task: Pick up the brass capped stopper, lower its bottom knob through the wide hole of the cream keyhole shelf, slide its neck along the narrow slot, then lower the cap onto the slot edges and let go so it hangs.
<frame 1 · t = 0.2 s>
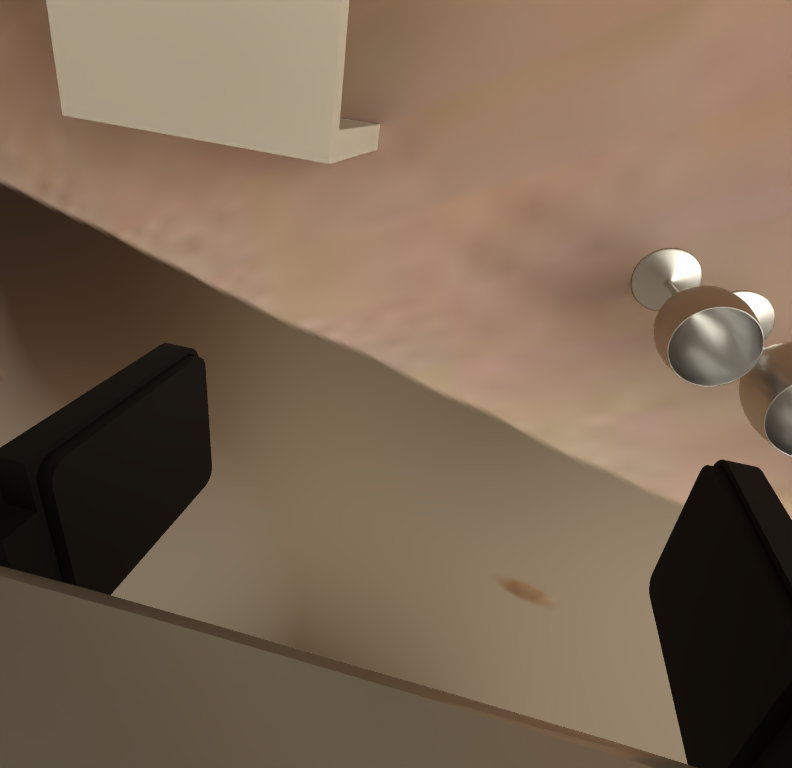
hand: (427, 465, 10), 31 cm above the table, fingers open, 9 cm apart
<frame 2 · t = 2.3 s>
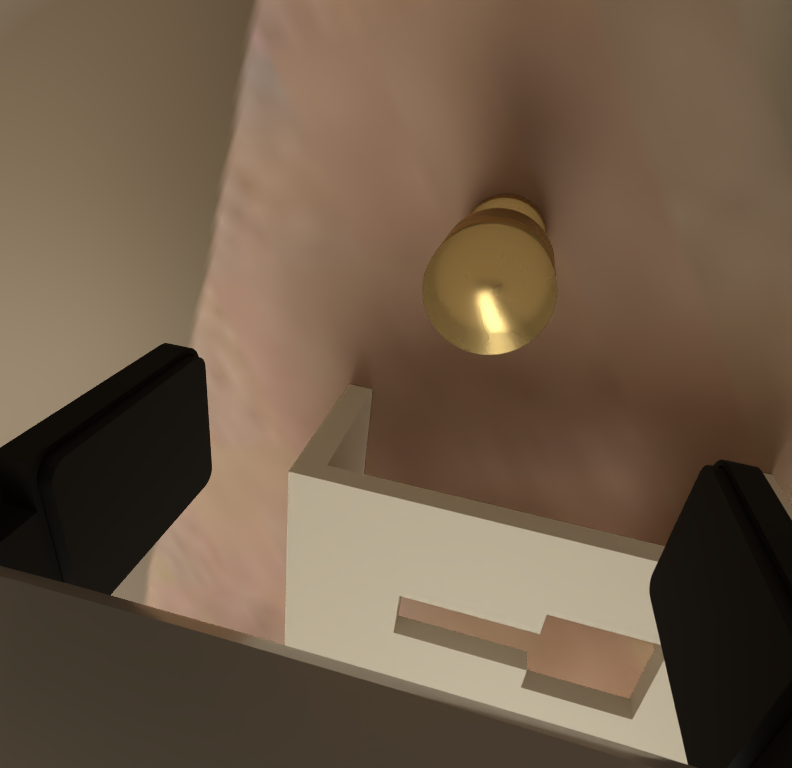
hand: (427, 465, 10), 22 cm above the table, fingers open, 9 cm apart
brass capped stopper: (504, 236, 30), on the table
keyhole shelf: (520, 523, 38), on the table
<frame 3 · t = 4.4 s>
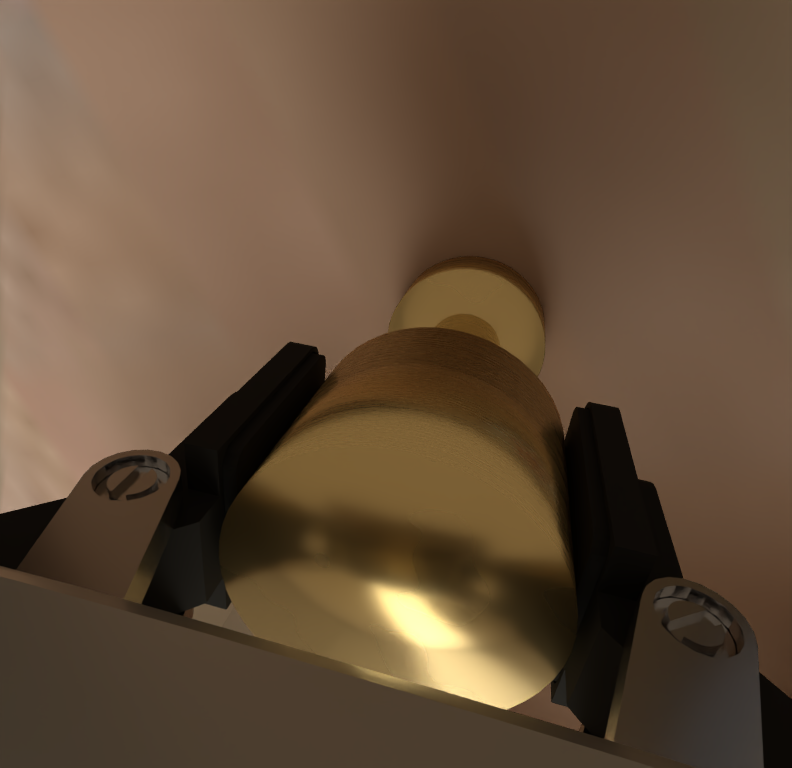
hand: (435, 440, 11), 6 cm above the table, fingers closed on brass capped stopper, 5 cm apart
brass capped stopper: (469, 328, 17), on the table, touching gripper
keyhole shelf: (506, 733, 25), on the table
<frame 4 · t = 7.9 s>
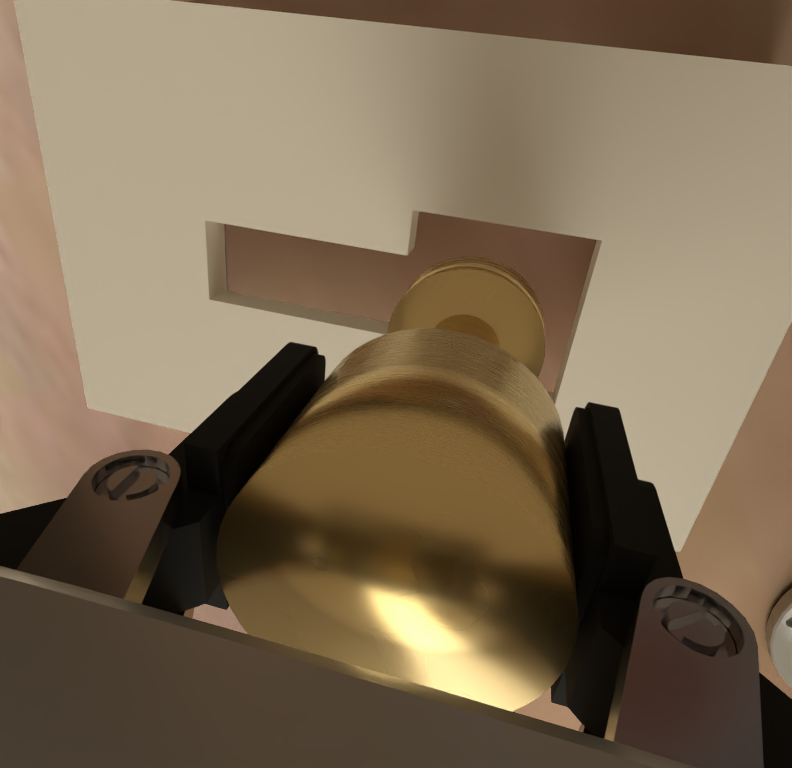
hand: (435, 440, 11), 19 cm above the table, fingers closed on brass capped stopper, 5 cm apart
brass capped stopper: (469, 329, 17), point 12 cm above the table, touching gripper
keyhole shelf: (427, 236, 28), on the table
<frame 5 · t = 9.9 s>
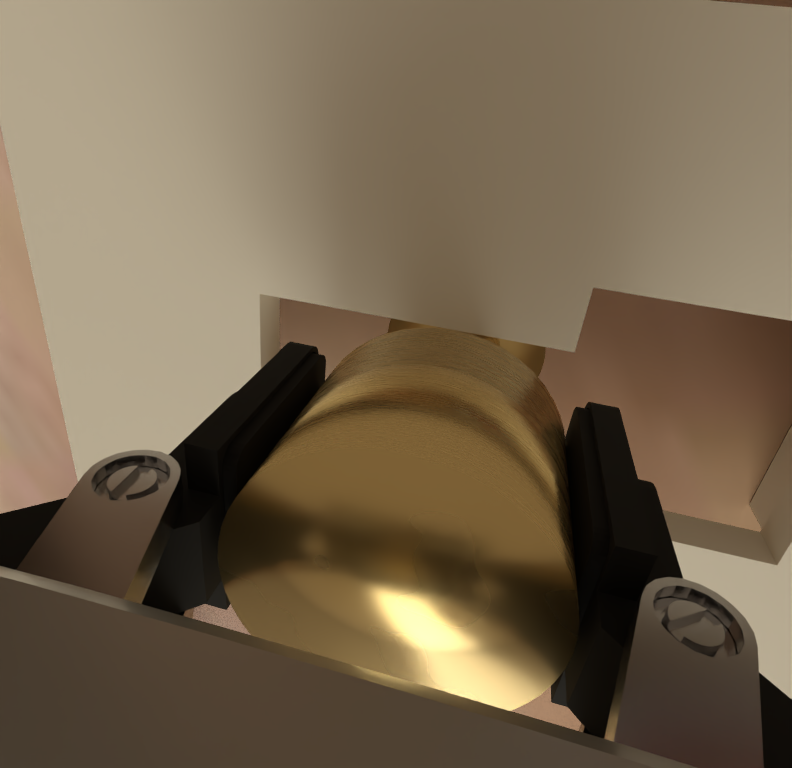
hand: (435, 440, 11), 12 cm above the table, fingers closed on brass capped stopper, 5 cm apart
brass capped stopper: (469, 328, 17), point 6 cm above the table, touching gripper
keyhole shelf: (525, 282, 22), on the table
when the fingers open (11 cm above the table, at t = 11.4 s): brass capped stopper stays where it is, resting on keyhole shelf.
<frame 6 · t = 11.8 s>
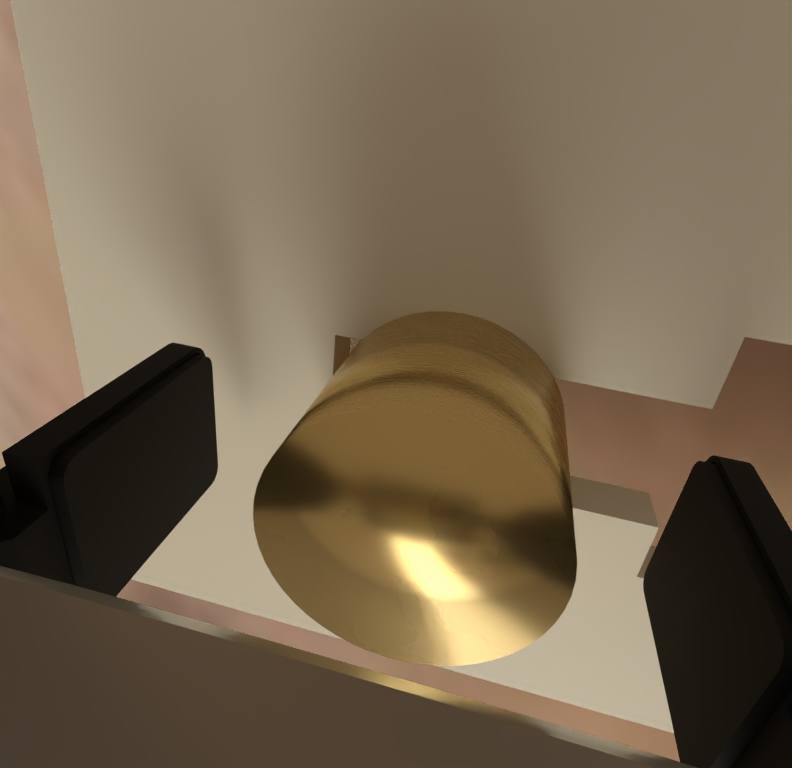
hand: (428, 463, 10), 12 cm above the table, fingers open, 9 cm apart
brass capped stopper: (474, 318, 17), point 3 cm above the table, touching keyhole shelf
keyhole shelf: (591, 305, 20), on the table
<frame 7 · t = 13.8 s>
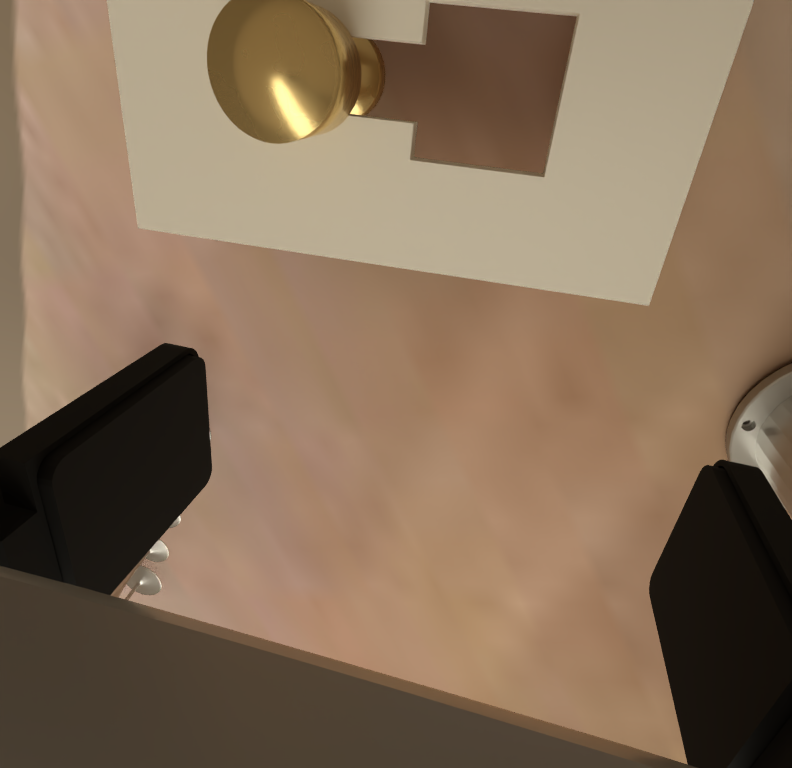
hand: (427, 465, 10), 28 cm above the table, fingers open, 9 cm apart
brass capped stopper: (345, 75, 29), point 3 cm above the table, touching keyhole shelf
keyhole shelf: (426, 82, 32), on the table
goblet set: (163, 512, 54), on the table
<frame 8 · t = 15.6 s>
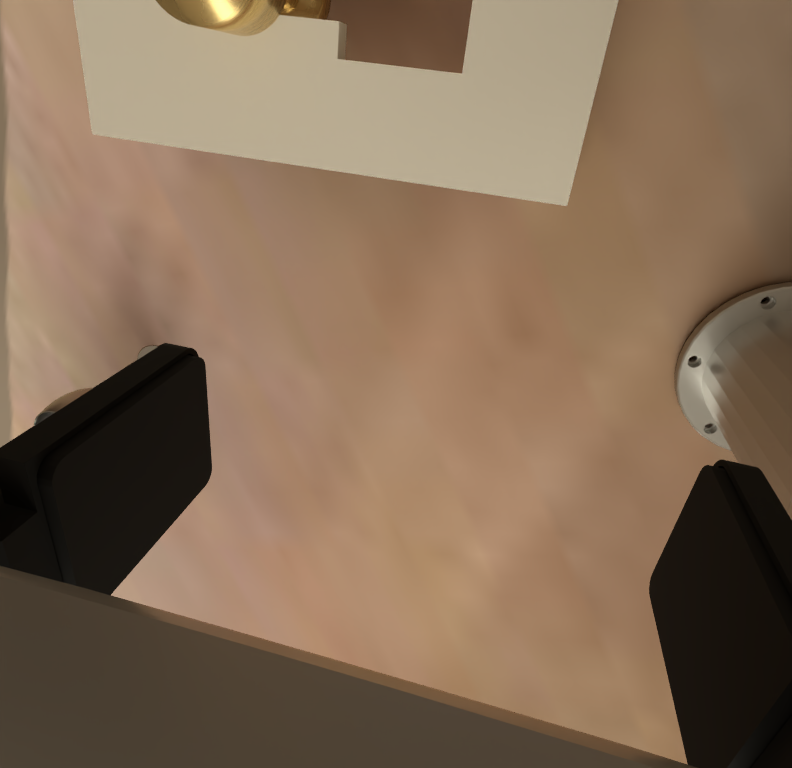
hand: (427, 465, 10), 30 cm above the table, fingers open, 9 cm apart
keyhole shelf: (376, 11, 33), on the table
goblet set: (137, 455, 56), on the table
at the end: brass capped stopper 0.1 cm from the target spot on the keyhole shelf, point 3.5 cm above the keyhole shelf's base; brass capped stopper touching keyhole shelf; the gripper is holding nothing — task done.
